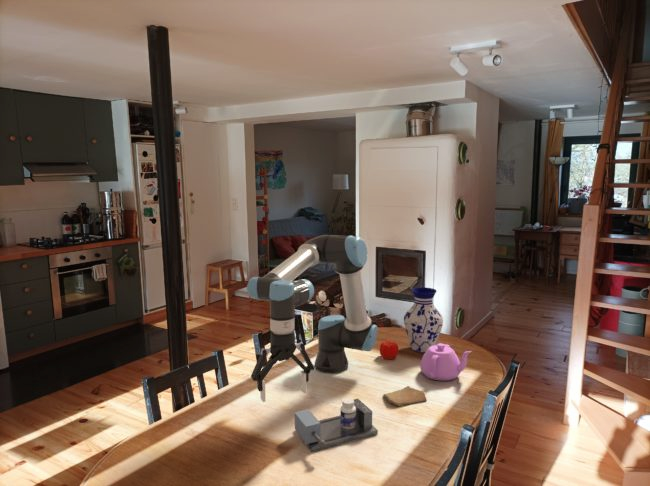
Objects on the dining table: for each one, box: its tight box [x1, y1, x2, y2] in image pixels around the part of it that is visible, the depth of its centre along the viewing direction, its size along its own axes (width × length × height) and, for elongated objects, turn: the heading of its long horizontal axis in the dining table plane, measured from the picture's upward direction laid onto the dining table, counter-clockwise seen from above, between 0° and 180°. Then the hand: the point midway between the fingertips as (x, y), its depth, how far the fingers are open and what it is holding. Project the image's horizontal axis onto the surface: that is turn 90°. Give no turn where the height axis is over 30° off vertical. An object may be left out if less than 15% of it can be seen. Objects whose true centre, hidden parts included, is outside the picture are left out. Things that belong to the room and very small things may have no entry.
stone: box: [382, 385, 427, 407], centre depth 182 cm, size 11×16×3 cm
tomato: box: [379, 340, 399, 360], centre depth 222 cm, size 9×9×8 cm
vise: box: [295, 398, 379, 453], centre depth 158 cm, size 14×24×8 cm, turn 115°
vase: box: [403, 286, 444, 354], centre depth 231 cm, size 19×19×30 cm
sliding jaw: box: [294, 408, 325, 448], centre depth 150 cm, size 18×5×6 cm, turn 25°
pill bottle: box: [340, 397, 356, 429], centre depth 159 cm, size 5×5×9 cm
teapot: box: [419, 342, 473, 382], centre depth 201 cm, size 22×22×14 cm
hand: (283, 395), depth 148 cm, fingers open, 13 cm apart
